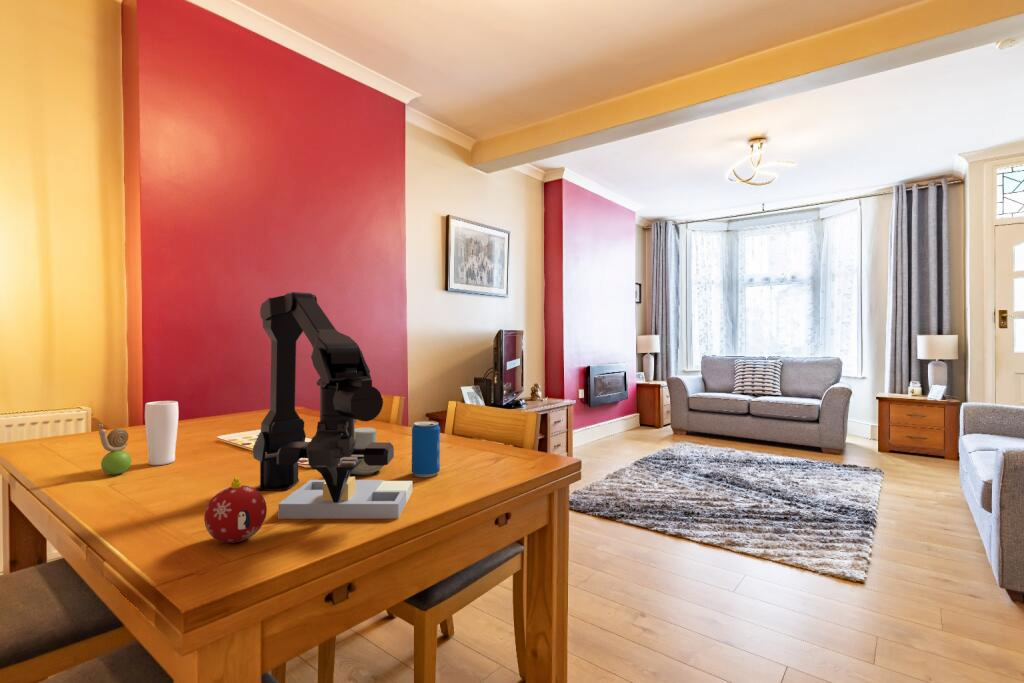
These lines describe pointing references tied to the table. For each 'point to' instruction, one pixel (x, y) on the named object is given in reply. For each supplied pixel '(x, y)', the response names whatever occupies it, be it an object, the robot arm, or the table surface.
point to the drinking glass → (161, 431)
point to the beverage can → (425, 448)
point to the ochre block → (347, 491)
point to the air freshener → (362, 441)
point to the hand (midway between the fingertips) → (336, 502)
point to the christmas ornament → (235, 513)
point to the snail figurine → (115, 451)
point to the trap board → (348, 501)
